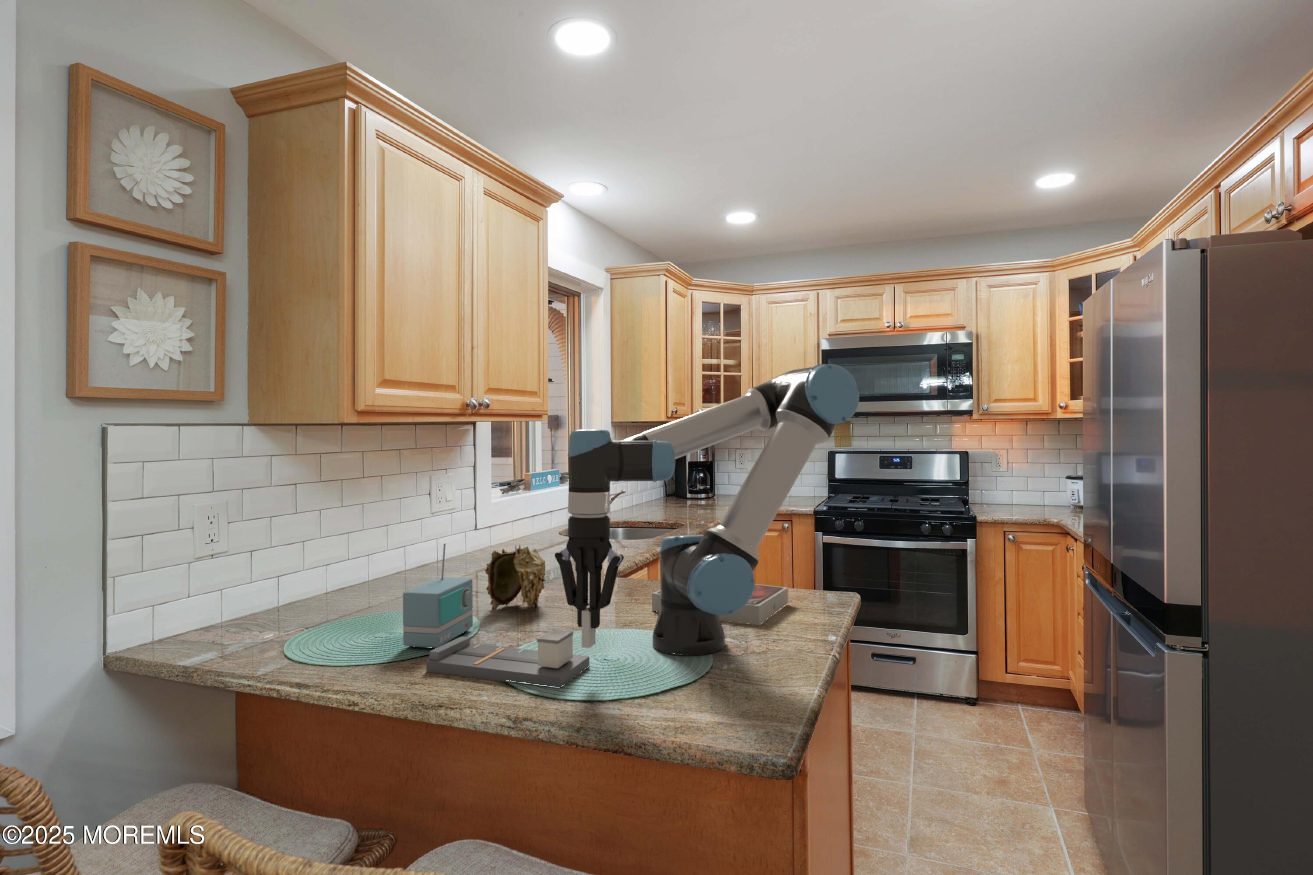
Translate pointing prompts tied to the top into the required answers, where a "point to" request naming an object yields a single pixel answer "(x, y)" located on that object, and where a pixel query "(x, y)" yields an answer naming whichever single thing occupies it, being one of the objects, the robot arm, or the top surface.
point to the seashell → (515, 576)
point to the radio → (437, 611)
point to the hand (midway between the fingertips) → (588, 645)
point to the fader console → (500, 663)
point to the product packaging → (749, 604)
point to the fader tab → (555, 648)
